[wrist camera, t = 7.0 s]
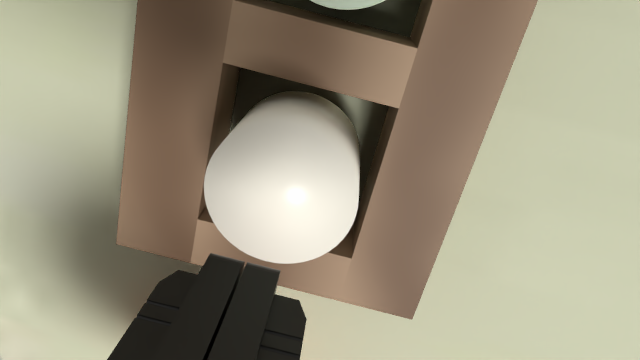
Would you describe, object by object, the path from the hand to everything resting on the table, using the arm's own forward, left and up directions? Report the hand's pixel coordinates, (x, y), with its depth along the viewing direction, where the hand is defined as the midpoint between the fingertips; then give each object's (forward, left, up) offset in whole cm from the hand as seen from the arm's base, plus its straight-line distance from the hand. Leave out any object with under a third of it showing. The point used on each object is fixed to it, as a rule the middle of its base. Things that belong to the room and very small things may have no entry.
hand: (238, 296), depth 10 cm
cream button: (0, 0, -9) cm, 9 cm away
